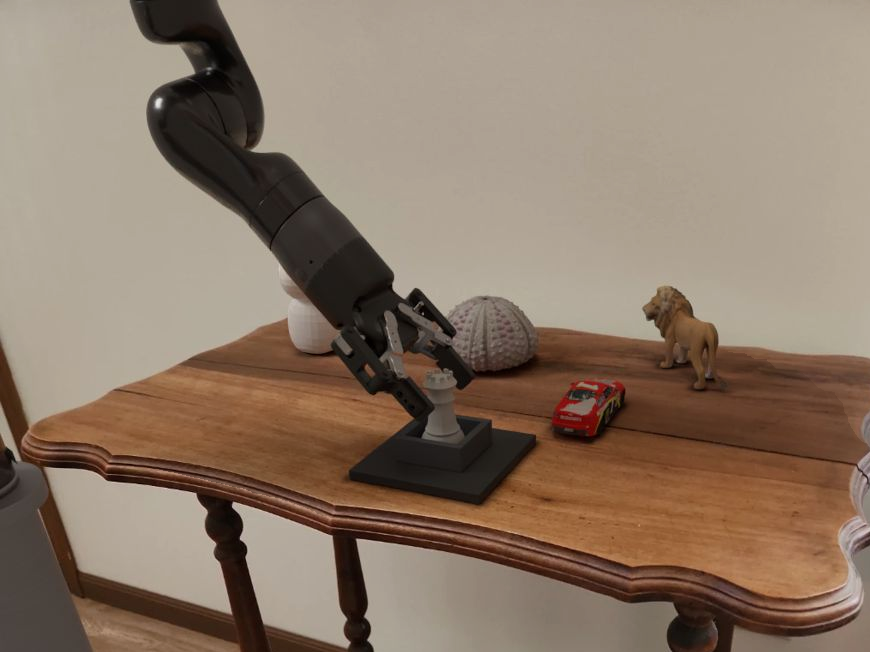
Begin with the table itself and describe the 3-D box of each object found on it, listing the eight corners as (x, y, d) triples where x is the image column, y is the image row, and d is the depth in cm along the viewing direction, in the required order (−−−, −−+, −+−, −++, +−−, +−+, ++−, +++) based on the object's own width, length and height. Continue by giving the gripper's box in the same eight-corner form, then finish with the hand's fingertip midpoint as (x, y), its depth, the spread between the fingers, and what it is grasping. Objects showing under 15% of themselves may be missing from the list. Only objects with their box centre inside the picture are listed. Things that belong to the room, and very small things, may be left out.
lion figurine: (632, 359, 102) (638, 285, 97) (667, 352, 104) (674, 279, 99) (708, 397, 91) (719, 316, 86) (745, 387, 93) (759, 307, 88)
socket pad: (479, 504, 73) (478, 469, 71) (349, 479, 79) (344, 446, 77) (536, 443, 83) (536, 411, 81) (417, 424, 89) (414, 394, 87)
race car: (585, 394, 94) (586, 360, 92) (630, 400, 92) (633, 365, 89) (542, 437, 84) (543, 400, 82) (592, 445, 82) (594, 408, 80)
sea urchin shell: (414, 363, 105) (410, 299, 101) (491, 338, 112) (490, 277, 107) (483, 388, 97) (481, 320, 92) (561, 359, 103) (563, 295, 99)
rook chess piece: (466, 459, 79) (463, 380, 74) (421, 462, 79) (415, 382, 74) (465, 440, 82) (462, 363, 78) (421, 442, 83) (416, 366, 78)
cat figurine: (274, 354, 111) (253, 237, 102) (331, 328, 119) (316, 218, 111) (325, 364, 107) (307, 242, 98) (380, 336, 115) (368, 222, 106)
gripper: (308, 253, 67) (438, 403, 69) (393, 219, 77) (504, 351, 79) (267, 312, 72) (390, 450, 74) (352, 273, 82) (458, 396, 85)
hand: (449, 399), depth 77 cm, fingers open, 8 cm apart
